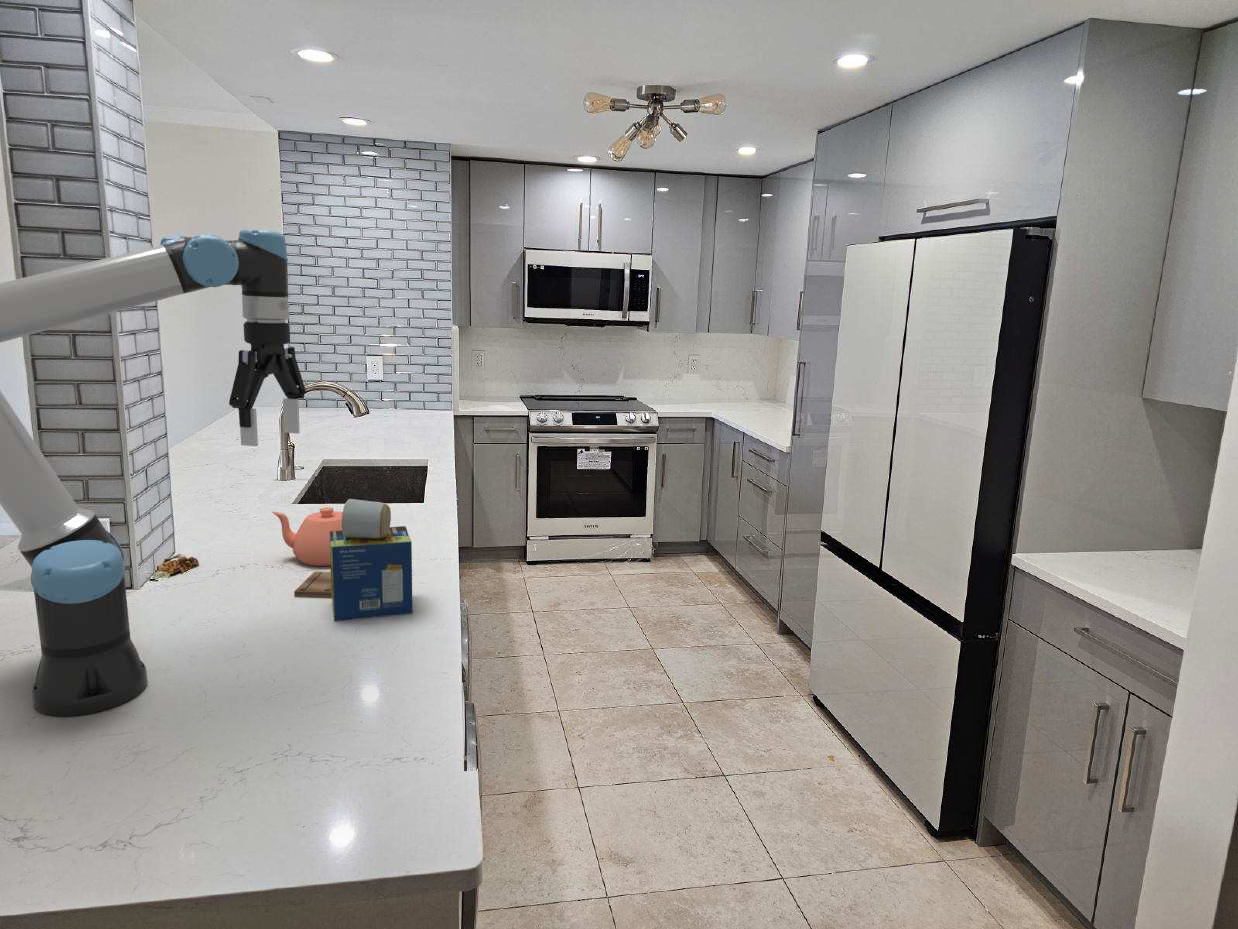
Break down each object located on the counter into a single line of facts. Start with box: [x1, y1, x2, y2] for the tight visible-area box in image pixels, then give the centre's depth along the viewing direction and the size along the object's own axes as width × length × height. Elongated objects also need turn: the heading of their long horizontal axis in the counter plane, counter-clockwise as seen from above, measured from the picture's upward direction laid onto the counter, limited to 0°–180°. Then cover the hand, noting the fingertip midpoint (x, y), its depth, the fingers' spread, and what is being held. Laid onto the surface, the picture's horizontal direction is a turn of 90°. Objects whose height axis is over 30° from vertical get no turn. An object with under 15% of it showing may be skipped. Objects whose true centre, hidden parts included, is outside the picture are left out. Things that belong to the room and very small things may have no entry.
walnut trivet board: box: [293, 571, 332, 599], centre depth 173 cm, size 12×8×2 cm, turn 1°
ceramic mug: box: [342, 498, 392, 539], centre depth 160 cm, size 11×8×8 cm
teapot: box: [271, 506, 343, 567], centre depth 190 cm, size 22×16×12 cm
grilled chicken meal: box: [152, 553, 199, 581], centre depth 178 cm, size 7×12×4 cm, turn 176°
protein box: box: [330, 525, 414, 622], centre depth 162 cm, size 10×15×16 cm
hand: (271, 439), depth 146 cm, fingers open, 13 cm apart
